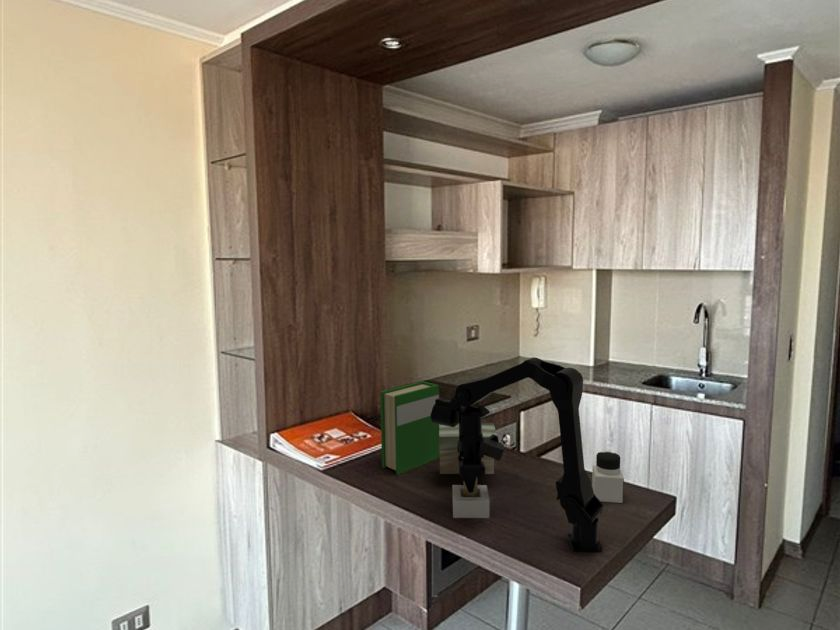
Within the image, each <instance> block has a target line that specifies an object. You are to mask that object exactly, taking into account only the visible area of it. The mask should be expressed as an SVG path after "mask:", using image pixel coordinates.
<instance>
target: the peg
mask: <svg viewBox="0 0 840 630" xmlns="http://www.w3.org/2000/svg"><path fill="white" fill-rule="evenodd" d="M463 485H464V497H477V485H478V477H477V478H476V482H475V486H474V490H473V493H469V492H468V490H467V487H466V485H465V483H464V482H463Z"/></svg>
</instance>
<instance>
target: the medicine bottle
mask: <svg viewBox="0 0 840 630" xmlns="http://www.w3.org/2000/svg"><path fill="white" fill-rule="evenodd" d="M595 455H596V458H595V459H596V460H595V465H592V473H591V475H592V479H591V484H592V488H593V491H594V494H595V496H596V497H597V498H598V499H599V500H600V502H601V503H602V502H604V503H615V504H623V503H624V486H625V485H624V481H625V480H624V479H625V478H624V475H623V473H622V470H621V456H620V455H619V454H618V453H616V452H613V451H610V450H604V451H603V450H602V451H600V452H598V453H596V454H595Z"/></svg>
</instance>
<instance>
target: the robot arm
mask: <svg viewBox="0 0 840 630" xmlns="http://www.w3.org/2000/svg"><path fill="white" fill-rule="evenodd" d="M525 379H531V380H532V381H533V382H535V383H536V384H537V385H539V387H541V388H543V389H546V390H548V391H549V394H550V398H551V399H550V400H551V402H552V403H553V405H554V406H555V408H556V410H557V413H558V414H557V415H558V425H559V434H560V444H561V445H560V446H561V455H562V465H563V475H561V476H560V477H559V478H558V479H557V480H556V481H555V488H556V493H557V494H556V495H557V496H556V501H558V500H559V505H560V507H561V509H563V510H564V512H565V515H566V518H567V522H568V524H571V533H567V534H566V535H567V536H566V538H567V539H568V541H569V542H568V543H569V544H570V547H571V549H572V551H574V552H603V550H604V549H603V546H602V544H601V543H600V540H599V518H598V517H599V516H600V515H601V514H602V513H603V509H604V507H605V506H604V504H603V503H602V502H601V501H600V500H599V499H598V498H597V497H596V496H595V494H594V491H593V488H592V479H591V478H590V476H589V475H588V473H587V471H586V469H585V461H584V460H585V459H584V451H583V450H584V449H583V440H582V428H581V419H580V410H579V409H580V404H581V400H582V396H583V388H584V378H583V375H582V373H581V372H580V371H578V370H577V369H576V368H573V367H565V366H562V365H560V364H556V363H553V362H548V361H545V360H542V359H540V358H538V357H530V358H527V359H526V360H524V361H522V362H521V363H519V364H517V365H514V366H512V367H509V368H507V369H506V370H503V371H500V372H498V373H496V374H493V375H491V376H490V375H489V376H484V377H480V378H479V377H478V378H473V379H471V380H468V381H466V382H464V383H461V384H459V385H458V386H456V388H455V391H454V393H455V394H454V395H453V397H452V398H451V400H450V399H446V398H443V397H439V398H438V399H436V400H435V405H434V406H433V408H432V412H431V420H432V422H433V423H435V424H439V426H440V425H445V426H449V427H455V426H456V425H457V424H459V441H458V442H457V450H458V452H459V456H458V460H459V474H458V476H459V477H461V478H462V480H463V484H464V483H465V485H466V487H467V490H468V492H469V493H473V490H474V486H475V482H476V478H477V479H478V478H483V477H484V478H485V477H486V474H485V465H484V463H483V462H482V461H481V460H482V459H481V458H484V455H486V456H488V457H491V458H494V461H495V460H496V461H497V462H501V460H502V457H503V456H504V453H505V450H506V448H505V445H504V444H503V443H502V442H501V441H499V437H498V434H497V435H494V434H492V435H491V436H490V437H489V438H488V437H487V438H484V437H483V433H482V423H483V419H482V418H484V417H486V416H488V415H489V414H490V413H491V412H490V410H489V409H488V408H487V407H486V406H485V405H484V404H481V405H478V406H474V405H475V404H478V403H479V402H482V401H483V400H484V399H486V398H487V397H488V396H490V395H492V394H493V393H494V392H495V391H497V390H501V389H503V388H506V387H507V386H511V385H513V384H515V383H518V382H520V381H522V380H523V381H524V380H525Z"/></svg>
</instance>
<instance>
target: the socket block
mask: <svg viewBox="0 0 840 630" xmlns="http://www.w3.org/2000/svg"><path fill="white" fill-rule="evenodd" d="M452 518H453V519H490V496H489V491H488V485H486V484H483V485H482V484H477V497H464V484H452Z"/></svg>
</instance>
